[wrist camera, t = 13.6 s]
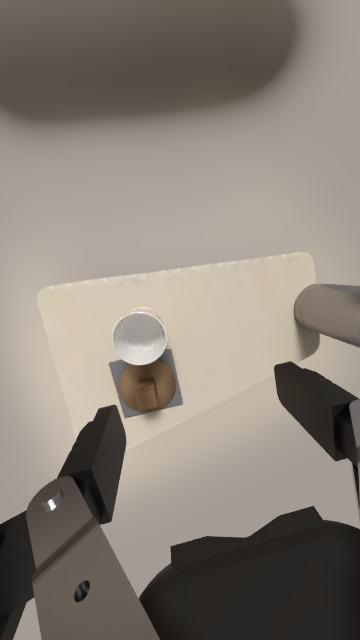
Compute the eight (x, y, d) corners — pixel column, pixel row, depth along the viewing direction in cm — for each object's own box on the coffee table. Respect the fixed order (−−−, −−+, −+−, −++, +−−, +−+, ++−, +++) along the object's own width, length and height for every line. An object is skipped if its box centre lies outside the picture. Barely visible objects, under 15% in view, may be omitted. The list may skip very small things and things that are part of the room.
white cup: (172, 329, 41) (177, 346, 32) (137, 351, 41) (132, 375, 32) (149, 294, 39) (147, 301, 30) (113, 317, 40) (99, 332, 30)
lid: (169, 352, 42) (171, 364, 36) (180, 402, 44) (183, 420, 39) (112, 365, 41) (105, 379, 35) (126, 414, 44) (122, 435, 38)
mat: (170, 348, 42) (171, 349, 42) (182, 402, 45) (182, 403, 44) (109, 362, 41) (108, 363, 41) (125, 416, 44) (124, 417, 44)
